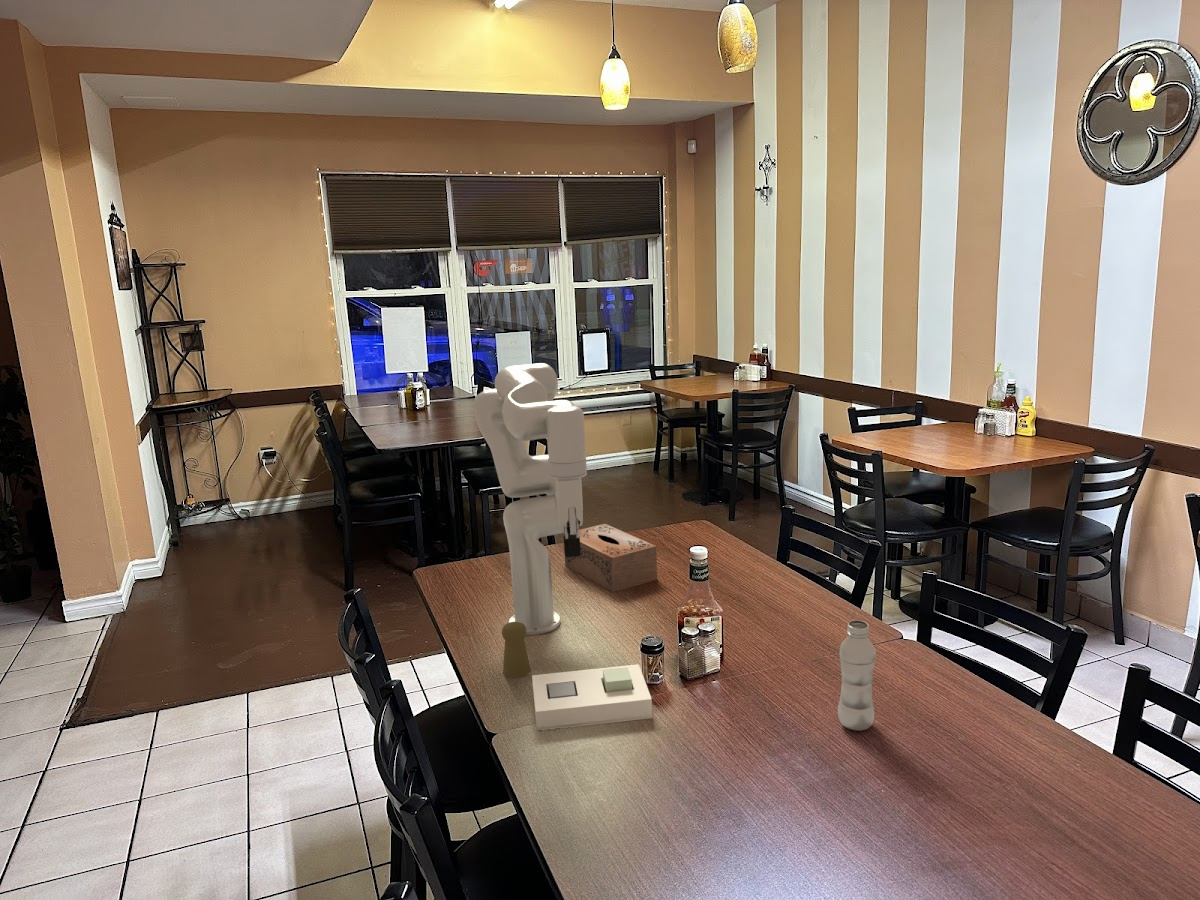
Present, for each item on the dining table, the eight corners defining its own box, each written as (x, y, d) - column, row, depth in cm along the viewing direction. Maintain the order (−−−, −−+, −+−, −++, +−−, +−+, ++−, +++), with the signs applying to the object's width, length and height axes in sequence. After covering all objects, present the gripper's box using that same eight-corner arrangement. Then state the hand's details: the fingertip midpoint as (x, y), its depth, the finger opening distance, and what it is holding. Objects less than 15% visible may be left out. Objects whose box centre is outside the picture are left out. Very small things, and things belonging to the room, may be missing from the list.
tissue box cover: (657, 580, 220) (656, 545, 218) (613, 593, 213) (612, 557, 211) (606, 555, 242) (605, 523, 239) (565, 566, 234) (563, 533, 232)
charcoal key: (549, 698, 159) (548, 684, 158) (574, 695, 160) (573, 681, 159) (550, 711, 154) (549, 697, 154) (576, 708, 155) (575, 694, 154)
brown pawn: (526, 679, 169) (523, 631, 167) (499, 677, 170) (495, 629, 168) (534, 665, 175) (531, 618, 172) (508, 664, 176) (504, 617, 174)
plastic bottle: (874, 718, 149) (877, 618, 145) (873, 738, 143) (877, 634, 138) (838, 713, 151) (840, 614, 147) (836, 732, 145) (838, 630, 140)
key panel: (533, 693, 163) (531, 675, 162) (639, 681, 166) (638, 664, 165) (536, 731, 150) (535, 711, 149) (652, 718, 152) (651, 698, 151)
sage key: (603, 683, 160) (602, 669, 159) (628, 680, 160) (627, 667, 160) (606, 696, 155) (606, 682, 154) (632, 693, 156) (631, 679, 155)
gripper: (546, 461, 166) (551, 545, 170) (551, 478, 152) (557, 570, 156) (582, 458, 167) (586, 542, 171) (590, 475, 153) (595, 566, 157)
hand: (572, 555), depth 163 cm, fingers closed
